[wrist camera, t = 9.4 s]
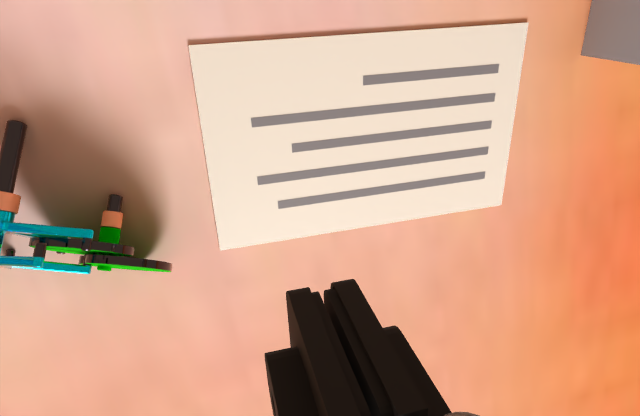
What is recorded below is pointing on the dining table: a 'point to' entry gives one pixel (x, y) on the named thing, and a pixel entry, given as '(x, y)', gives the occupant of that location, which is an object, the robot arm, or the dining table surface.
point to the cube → (613, 31)
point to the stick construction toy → (100, 253)
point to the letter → (355, 128)
